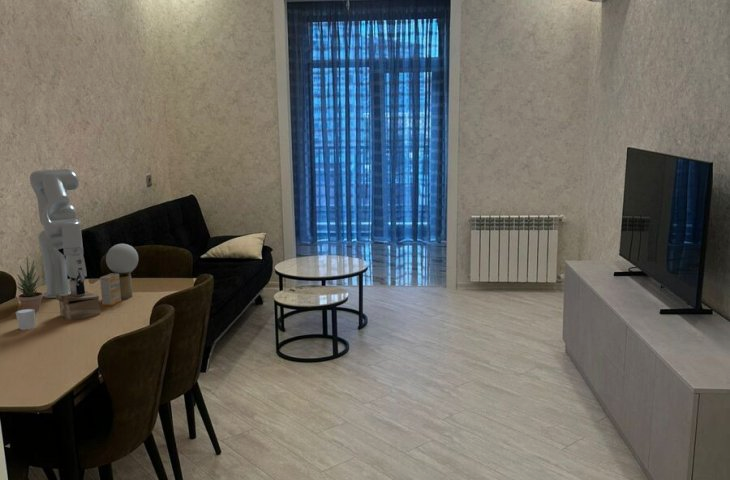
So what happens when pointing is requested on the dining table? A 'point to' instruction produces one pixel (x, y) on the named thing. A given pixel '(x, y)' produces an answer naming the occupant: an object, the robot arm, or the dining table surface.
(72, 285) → the tape roll
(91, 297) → the lid
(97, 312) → the box
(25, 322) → the white cylinder
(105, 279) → the supplement box
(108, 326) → the dining table surface
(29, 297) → the potted plant
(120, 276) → the lamp
